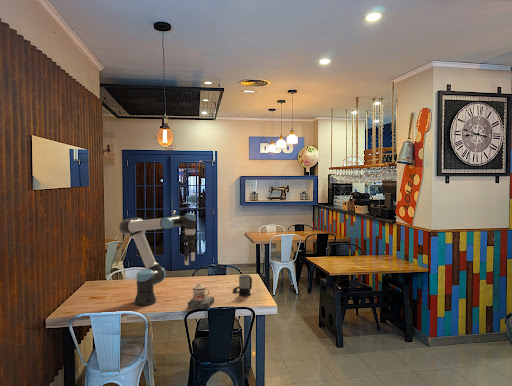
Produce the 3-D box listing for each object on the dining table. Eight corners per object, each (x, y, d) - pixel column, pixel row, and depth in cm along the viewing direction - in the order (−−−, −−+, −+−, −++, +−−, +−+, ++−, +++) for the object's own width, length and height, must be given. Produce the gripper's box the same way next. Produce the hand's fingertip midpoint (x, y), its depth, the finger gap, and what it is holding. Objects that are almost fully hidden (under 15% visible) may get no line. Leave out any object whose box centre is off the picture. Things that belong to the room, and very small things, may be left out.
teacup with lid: (193, 302, 262) (192, 285, 262) (192, 298, 271) (192, 282, 271) (210, 300, 265) (209, 284, 264) (209, 296, 274) (208, 281, 273)
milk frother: (248, 297, 285) (248, 277, 285) (229, 295, 289) (229, 276, 288) (253, 291, 299) (253, 273, 299) (234, 290, 303) (234, 272, 302)
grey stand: (187, 308, 261) (187, 302, 261) (194, 301, 276) (194, 295, 276) (208, 309, 259) (208, 303, 259) (214, 302, 274) (214, 296, 274)
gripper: (189, 237, 263) (188, 266, 264) (200, 232, 287) (200, 259, 288) (179, 236, 264) (178, 266, 265) (191, 231, 289) (190, 258, 290)
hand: (189, 262), depth 277 cm, fingers open, 13 cm apart
